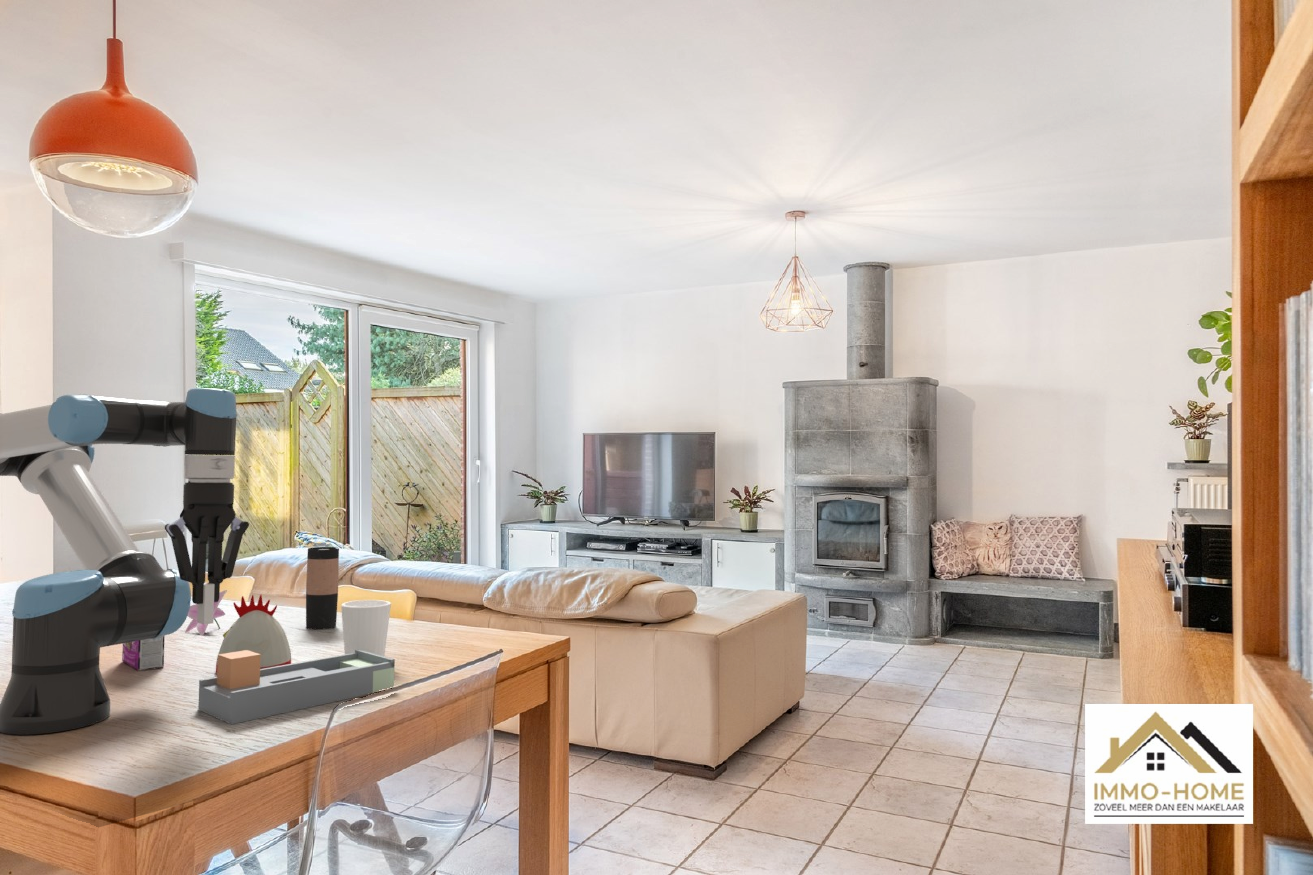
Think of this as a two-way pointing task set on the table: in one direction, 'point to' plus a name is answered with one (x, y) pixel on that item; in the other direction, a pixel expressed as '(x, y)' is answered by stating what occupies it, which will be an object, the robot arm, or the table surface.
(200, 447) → the robot arm
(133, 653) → the candy bar box
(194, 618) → the lily
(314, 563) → the travel mug
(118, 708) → the table surface
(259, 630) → the kitchen timer
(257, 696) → the box
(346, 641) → the cup
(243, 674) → the block
